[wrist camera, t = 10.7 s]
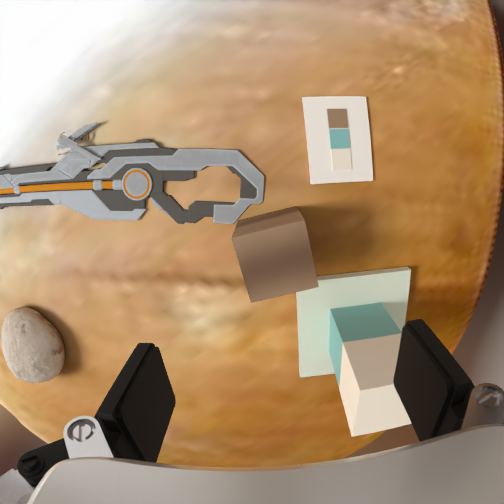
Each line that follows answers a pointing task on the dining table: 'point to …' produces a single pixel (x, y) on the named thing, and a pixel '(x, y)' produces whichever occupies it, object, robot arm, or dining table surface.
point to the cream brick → (371, 385)
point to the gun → (128, 180)
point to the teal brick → (357, 328)
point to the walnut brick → (275, 254)
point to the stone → (31, 346)
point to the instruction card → (338, 139)
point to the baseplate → (344, 295)
